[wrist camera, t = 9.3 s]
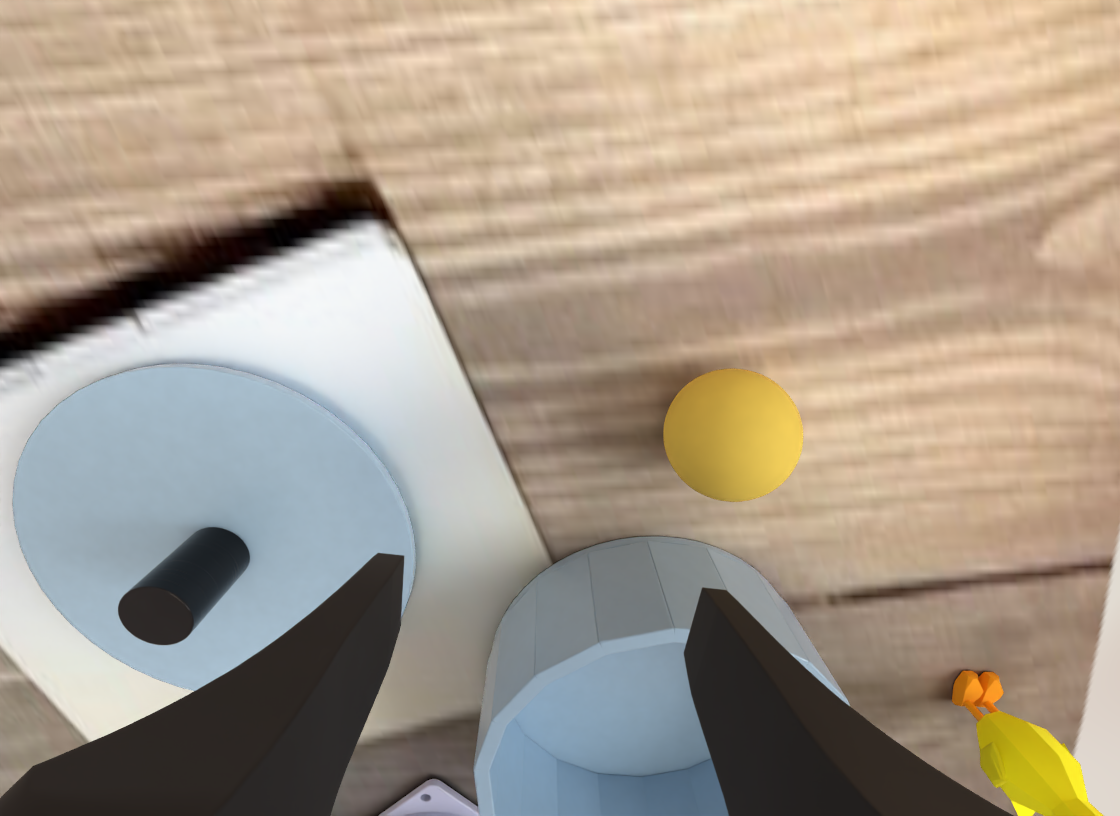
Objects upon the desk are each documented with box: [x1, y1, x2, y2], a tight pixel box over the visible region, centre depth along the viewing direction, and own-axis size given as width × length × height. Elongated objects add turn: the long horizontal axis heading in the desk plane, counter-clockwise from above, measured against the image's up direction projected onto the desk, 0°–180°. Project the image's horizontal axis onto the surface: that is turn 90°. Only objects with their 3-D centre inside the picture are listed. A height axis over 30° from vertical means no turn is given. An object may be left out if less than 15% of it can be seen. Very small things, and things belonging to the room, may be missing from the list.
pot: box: [473, 536, 850, 816], centre depth 22 cm, size 14×14×6 cm
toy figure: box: [952, 671, 1103, 816], centre depth 20 cm, size 7×4×12 cm, turn 176°
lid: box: [13, 364, 416, 691], centre depth 20 cm, size 15×15×5 cm
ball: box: [663, 369, 803, 502], centre depth 18 cm, size 5×5×5 cm
